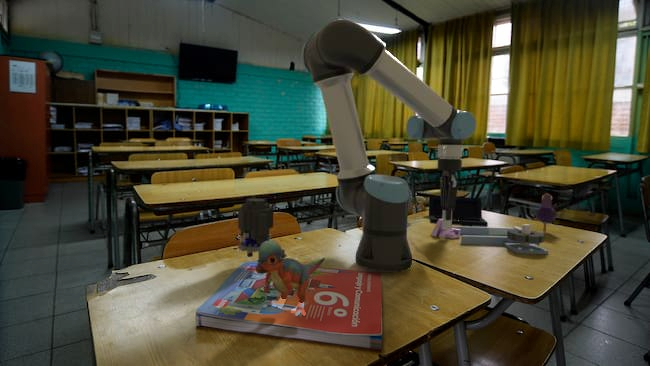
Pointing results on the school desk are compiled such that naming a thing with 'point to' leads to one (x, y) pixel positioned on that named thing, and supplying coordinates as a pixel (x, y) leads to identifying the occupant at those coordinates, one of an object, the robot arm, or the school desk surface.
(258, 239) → the toy
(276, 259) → the toy
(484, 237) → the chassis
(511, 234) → the wheel
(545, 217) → the toy
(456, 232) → the letters
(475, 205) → the black laptop
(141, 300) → the school desk surface
